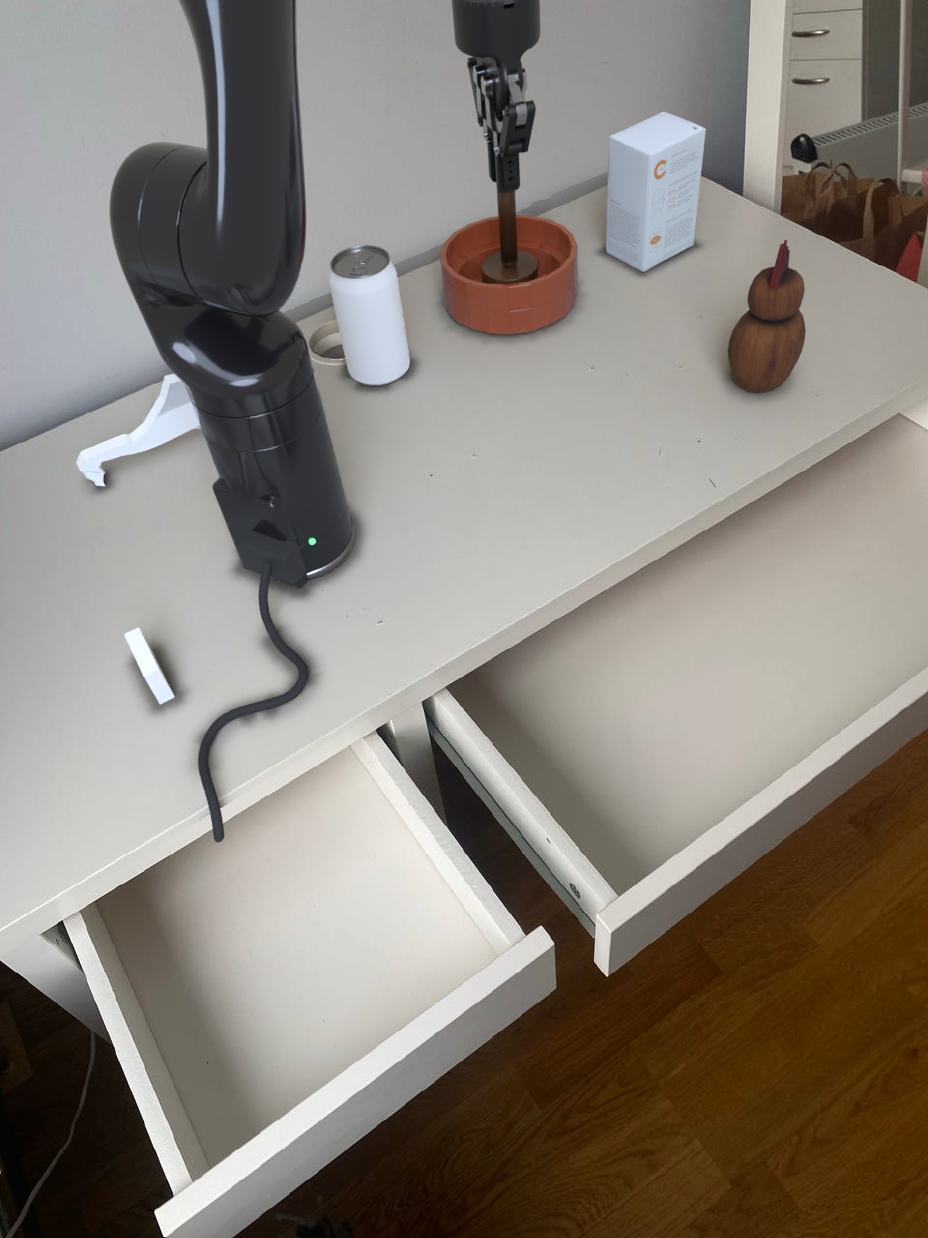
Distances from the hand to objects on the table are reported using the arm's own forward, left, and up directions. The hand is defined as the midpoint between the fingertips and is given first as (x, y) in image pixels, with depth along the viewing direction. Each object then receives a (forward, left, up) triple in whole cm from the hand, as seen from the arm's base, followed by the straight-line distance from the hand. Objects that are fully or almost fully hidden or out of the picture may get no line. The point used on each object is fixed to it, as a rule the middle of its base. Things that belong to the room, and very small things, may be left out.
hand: (504, 183), depth 93 cm
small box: (+15, -10, -13) cm, 22 cm away
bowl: (0, 0, -13) cm, 13 cm away
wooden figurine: (-4, -29, -13) cm, 32 cm away
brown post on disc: (0, 0, -10) cm, 10 cm away
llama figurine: (-34, +18, -13) cm, 41 cm away
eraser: (-57, +2, -13) cm, 58 cm away
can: (-16, +7, -13) cm, 22 cm away
